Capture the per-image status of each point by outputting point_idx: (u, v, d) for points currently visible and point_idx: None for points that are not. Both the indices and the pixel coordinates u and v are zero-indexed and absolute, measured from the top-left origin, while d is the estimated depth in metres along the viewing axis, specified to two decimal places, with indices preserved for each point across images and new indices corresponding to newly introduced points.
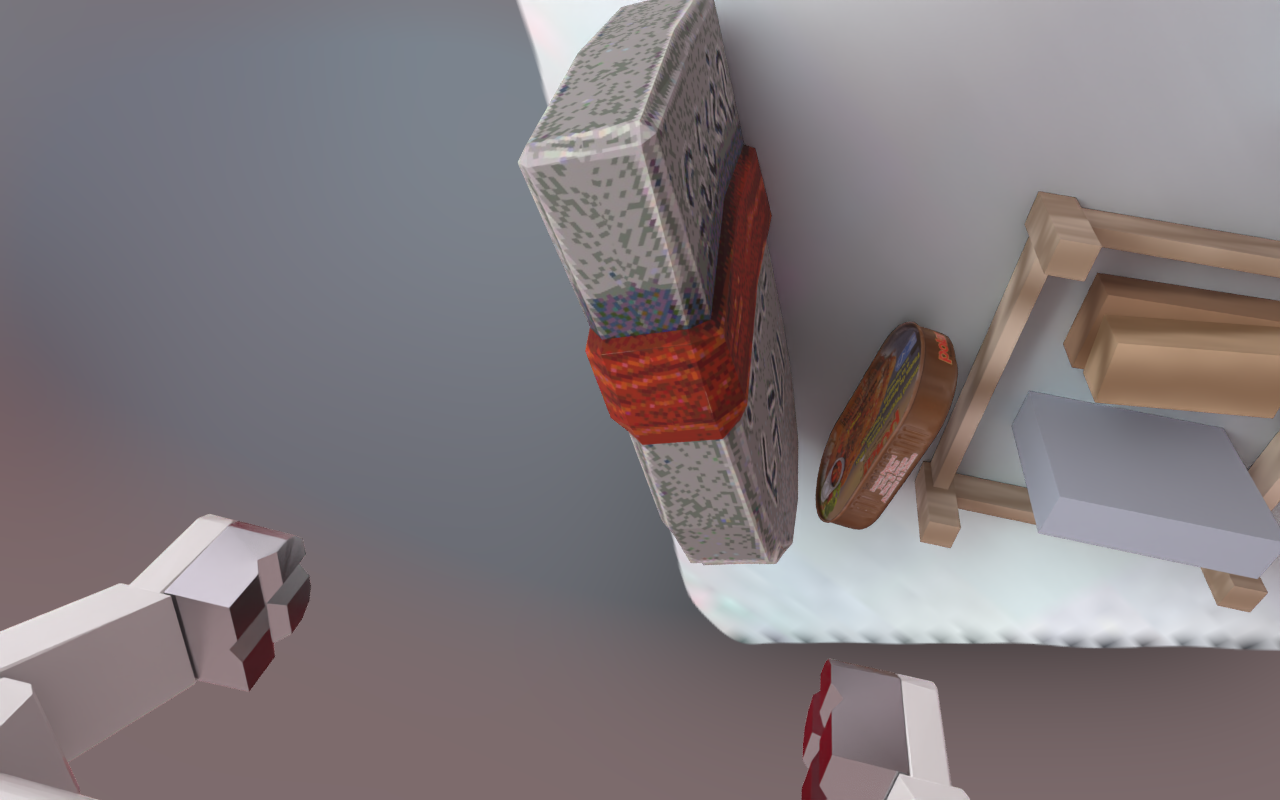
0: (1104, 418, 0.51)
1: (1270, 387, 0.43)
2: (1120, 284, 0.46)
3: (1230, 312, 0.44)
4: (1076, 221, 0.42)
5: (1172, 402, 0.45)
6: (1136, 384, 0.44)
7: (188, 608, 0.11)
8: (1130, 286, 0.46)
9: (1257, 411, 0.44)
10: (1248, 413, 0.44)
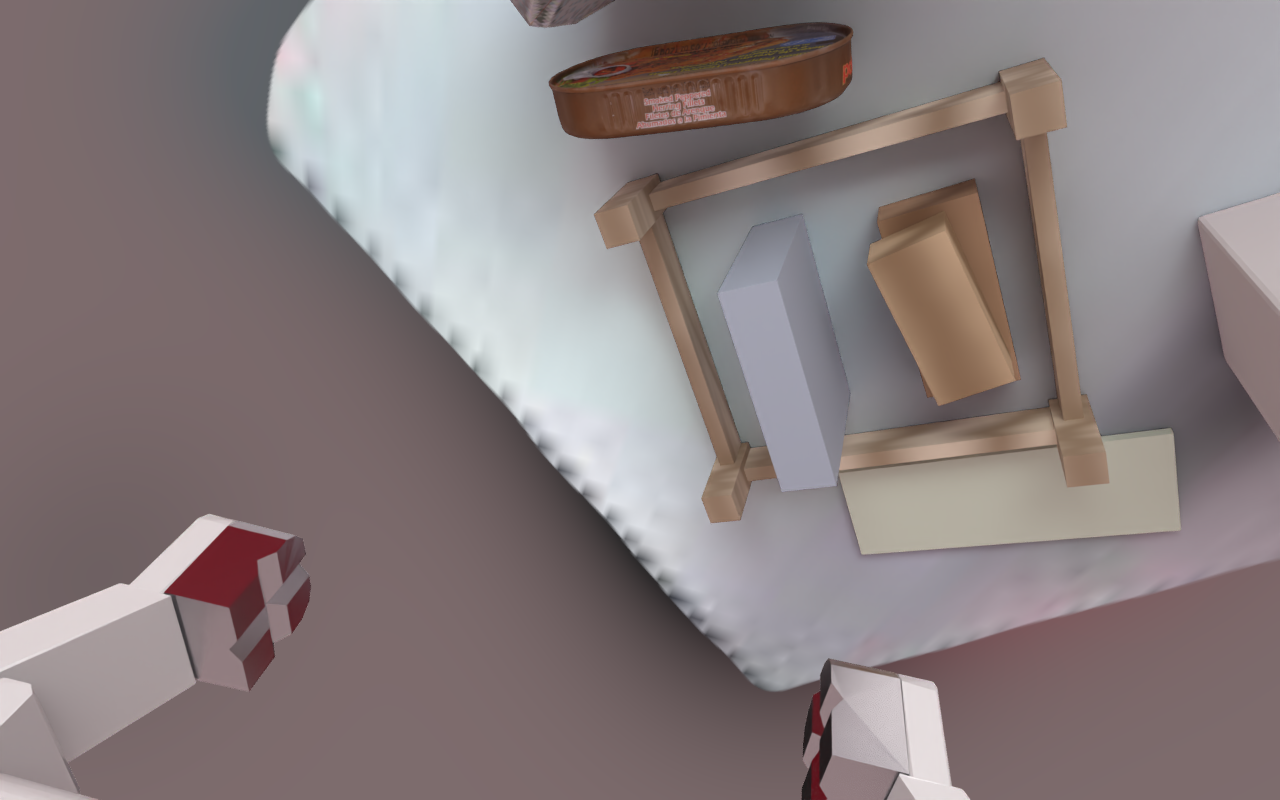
0: (818, 293, 0.47)
1: (969, 380, 0.42)
2: None
3: (1003, 305, 0.43)
4: None
5: (907, 324, 0.42)
6: (909, 281, 0.40)
7: (188, 608, 0.11)
8: (982, 212, 0.42)
9: (938, 390, 0.43)
10: (932, 386, 0.43)
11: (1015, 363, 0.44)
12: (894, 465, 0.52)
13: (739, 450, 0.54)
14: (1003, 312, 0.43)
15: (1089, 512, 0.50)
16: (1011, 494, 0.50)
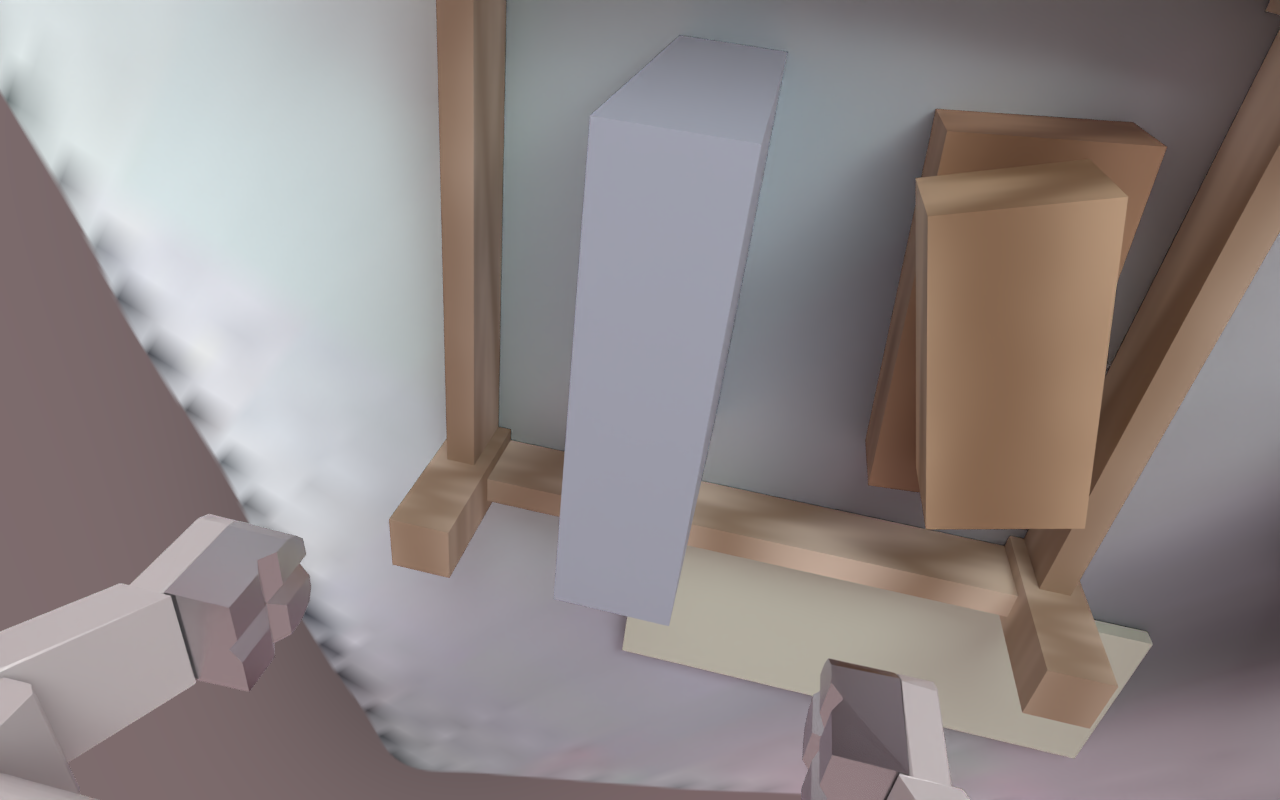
0: (753, 223, 0.23)
1: (1004, 502, 0.21)
2: None
3: None
4: None
5: (946, 365, 0.20)
6: (995, 281, 0.18)
7: (188, 608, 0.11)
8: None
9: (940, 503, 0.22)
10: (933, 492, 0.22)
11: None
12: None
13: (491, 440, 0.30)
14: None
15: (973, 700, 0.32)
16: (882, 644, 0.32)
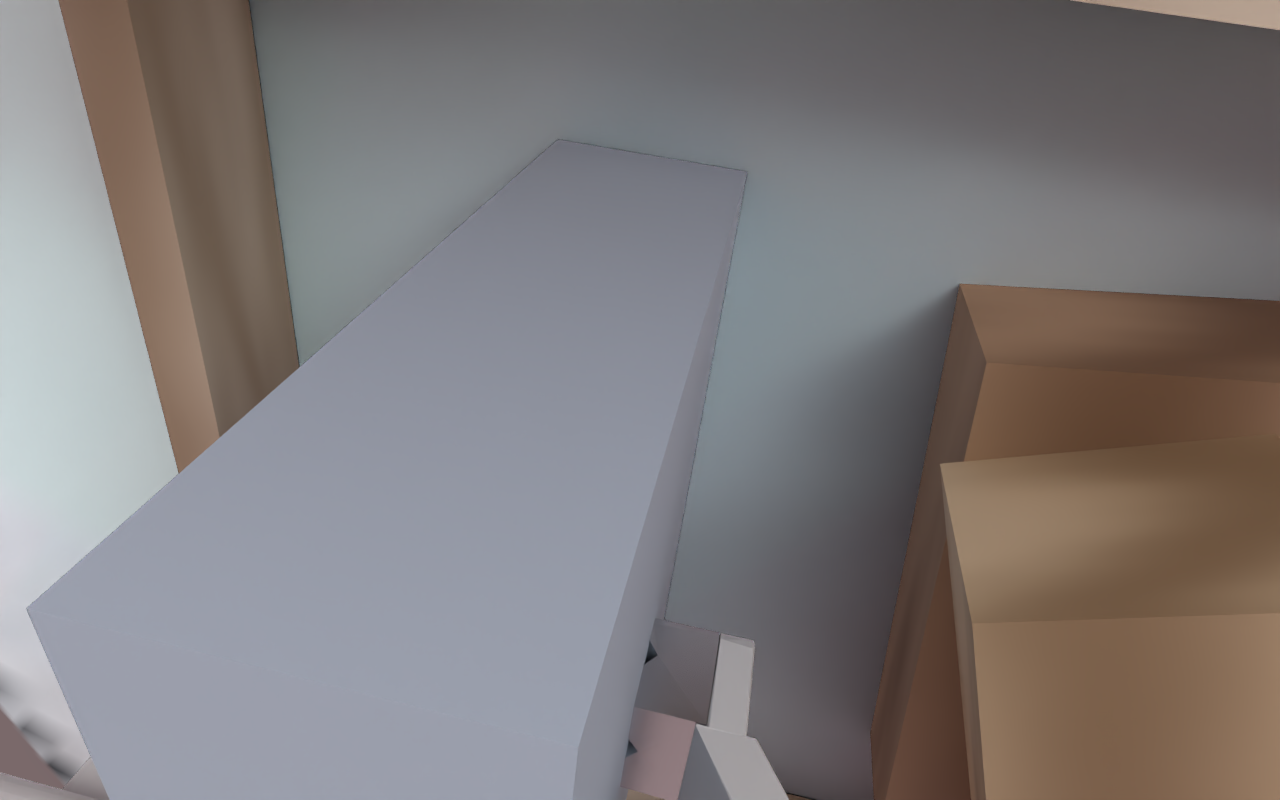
0: (691, 457, 0.13)
1: None
2: None
3: None
4: None
5: None
6: (1118, 724, 0.09)
7: None
8: None
9: None
10: None
11: None
12: None
13: None
14: None
15: None
16: None
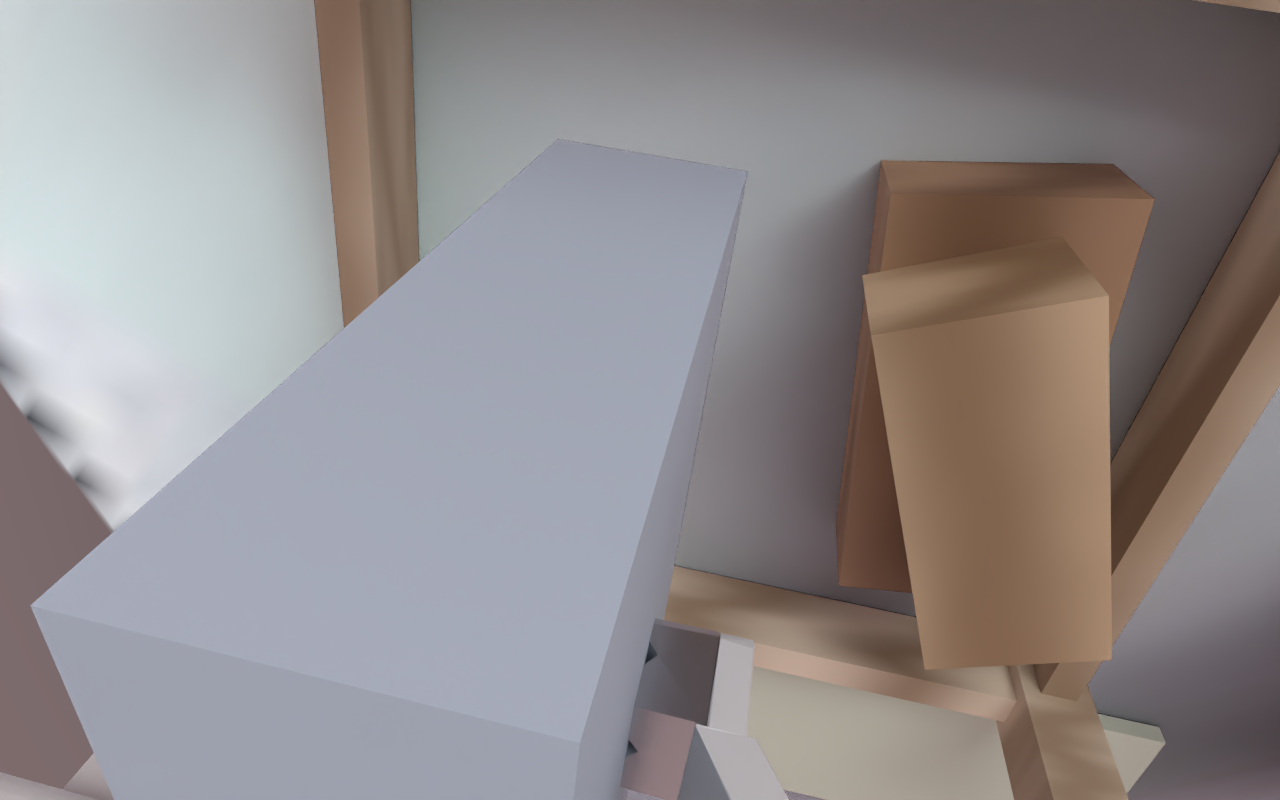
0: (691, 457, 0.13)
1: (1012, 637, 0.18)
2: None
3: None
4: None
5: (920, 495, 0.17)
6: (963, 400, 0.15)
7: None
8: None
9: (936, 641, 0.19)
10: (926, 630, 0.19)
11: None
12: None
13: None
14: None
15: (965, 798, 0.29)
16: (863, 739, 0.28)
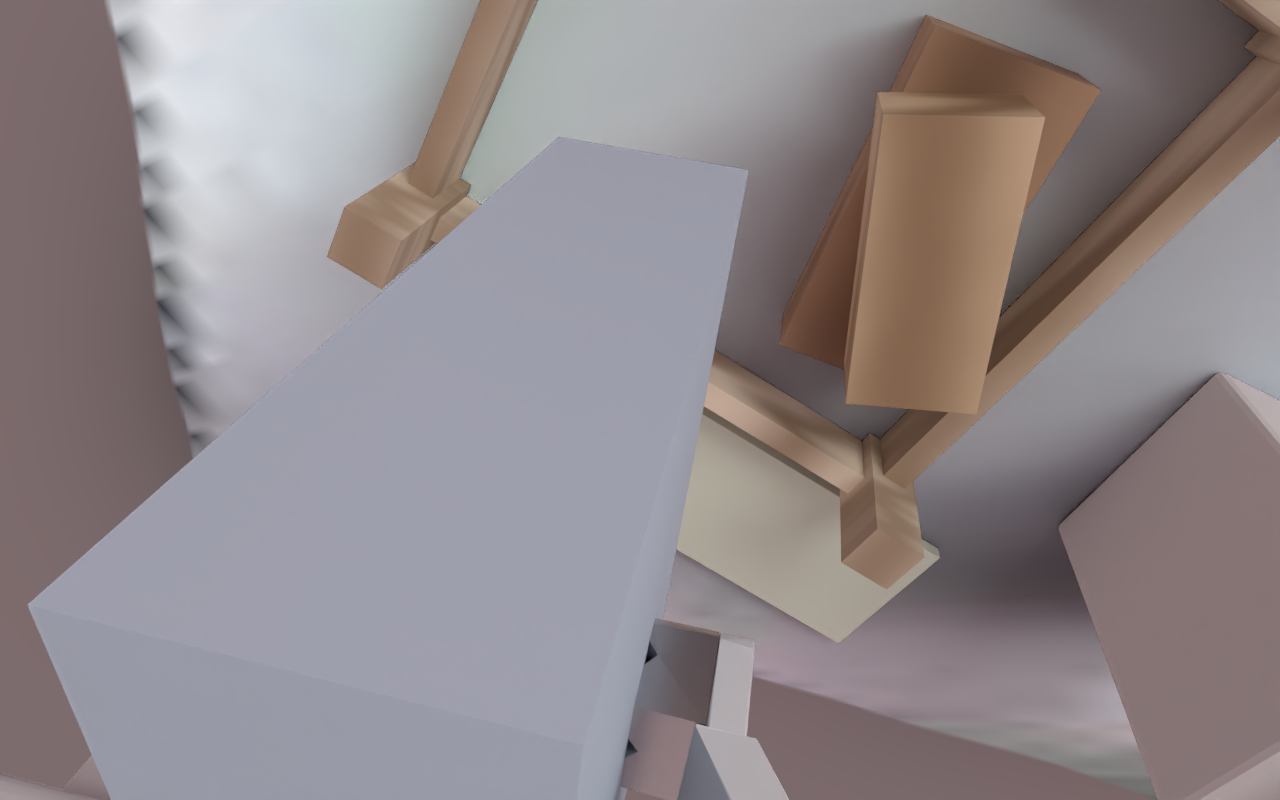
0: (691, 456, 0.13)
1: (914, 384, 0.25)
2: None
3: None
4: None
5: (881, 252, 0.23)
6: (931, 179, 0.22)
7: None
8: None
9: (860, 380, 0.25)
10: (856, 369, 0.25)
11: None
12: None
13: (451, 186, 0.30)
14: None
15: (781, 571, 0.37)
16: (727, 500, 0.35)
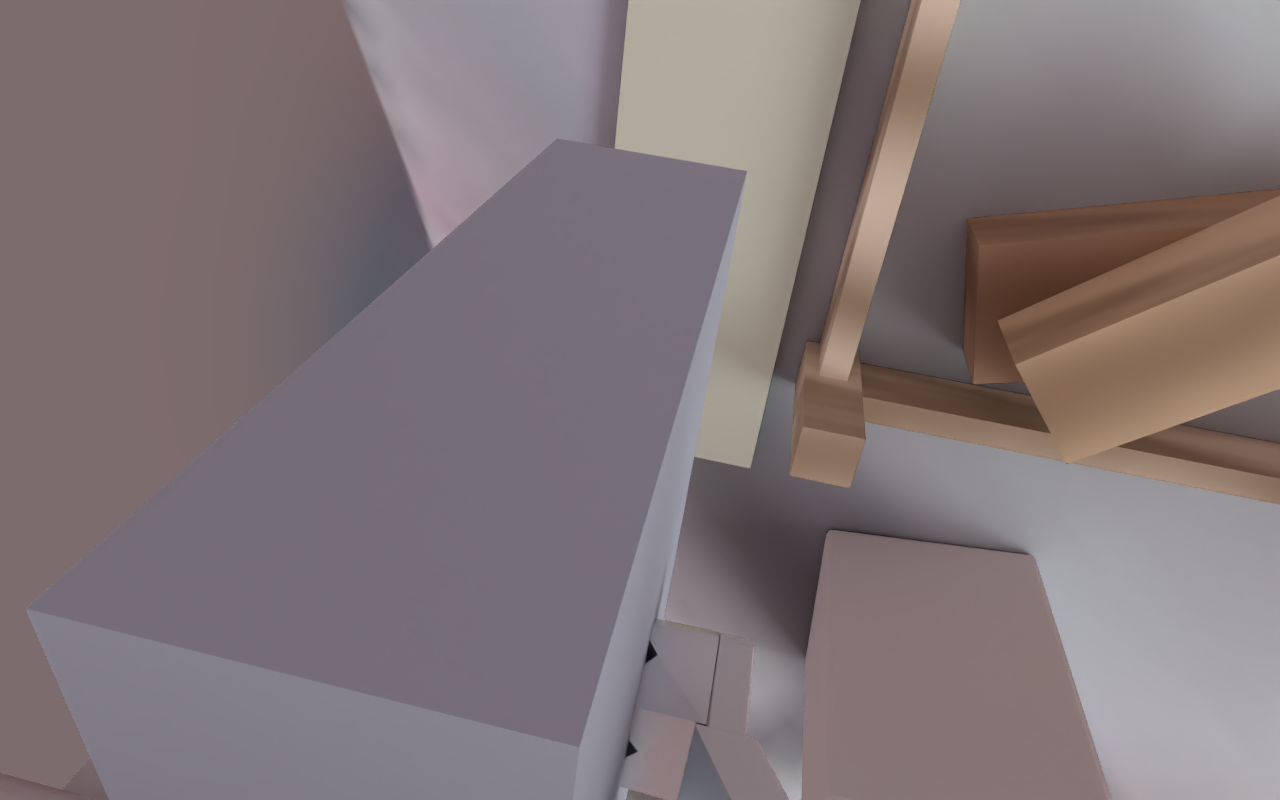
0: (691, 457, 0.13)
1: (1073, 403, 0.24)
2: None
3: None
4: None
5: (1215, 297, 0.22)
6: None
7: None
8: None
9: (1051, 361, 0.23)
10: (1062, 351, 0.23)
11: (1007, 380, 0.27)
12: (841, 81, 0.25)
13: None
14: None
15: None
16: None
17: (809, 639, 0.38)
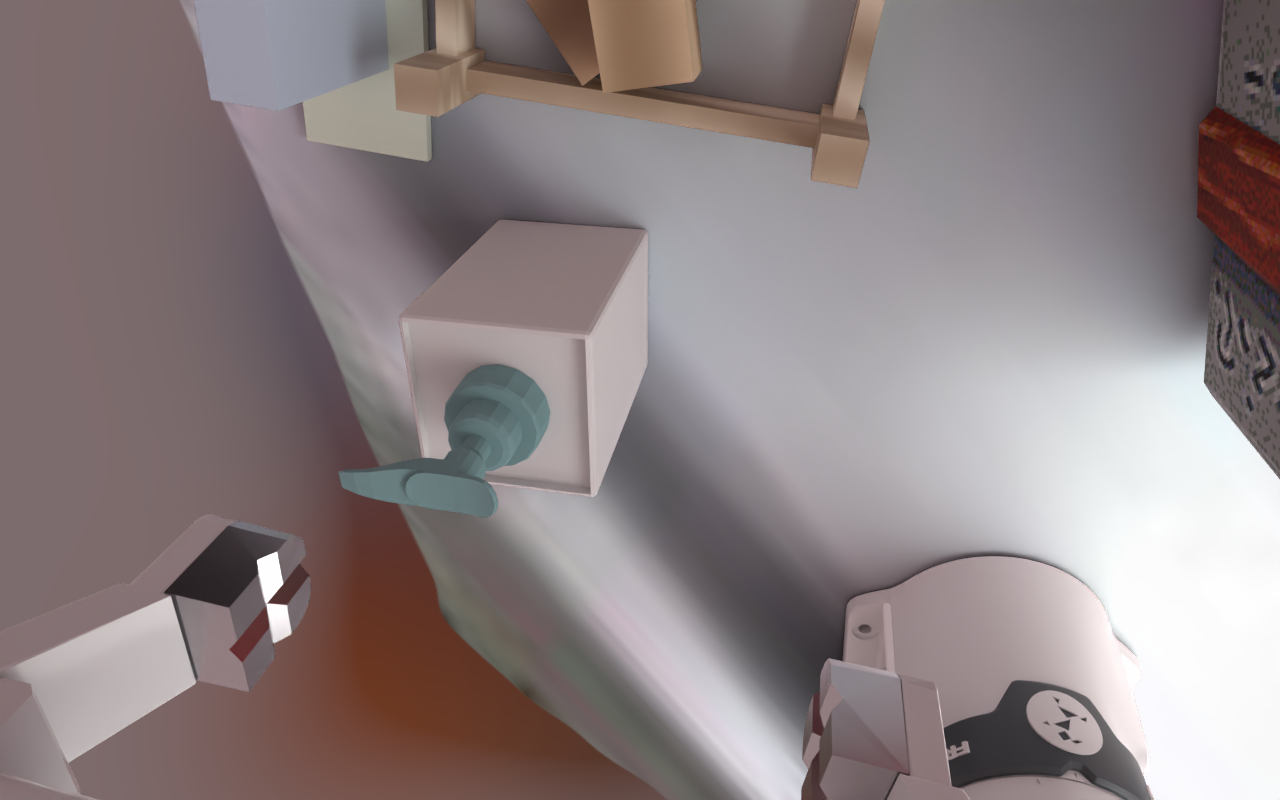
0: None
1: (644, 64, 0.34)
2: None
3: None
4: None
5: None
6: None
7: (188, 608, 0.11)
8: None
9: (607, 69, 0.34)
10: (601, 61, 0.34)
11: (599, 71, 0.37)
12: None
13: None
14: None
15: None
16: None
17: None
